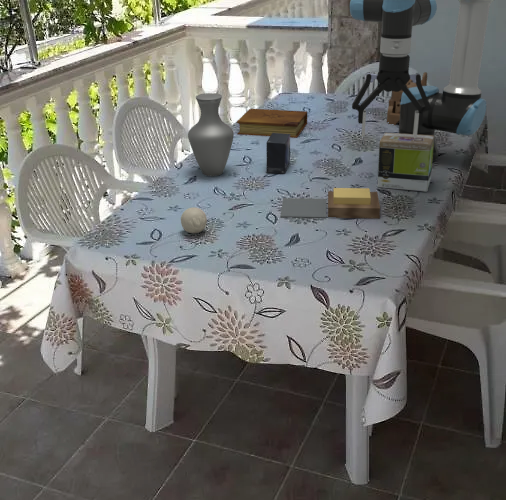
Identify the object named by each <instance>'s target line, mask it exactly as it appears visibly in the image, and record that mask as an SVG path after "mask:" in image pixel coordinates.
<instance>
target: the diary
mask: <svg viewBox="0 0 506 500" xmlns="http://www.w3.org/2000/svg"><path fill="white" fill-rule="evenodd" d="M236 124H239V125H238V126H239V127H238V128H239V131H238V132H237V135H241V136H255V137H258V136H260V137H270V136H271V134H272V133H283V134H290V139H291V138H293V139H297V138H298V137H299V136H300V135H301V133H302V132H303V131H304V130H305V128H306V127H307V125H308V111H307V110H306V111H304V110H285V109H283V110H282V109H265V108H263V109H262V108H249V109H248V110H247V111H246V112H244V114H242V116H240V118H239V119H237V120H236Z"/></svg>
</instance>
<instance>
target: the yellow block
mask: <svg viewBox="0 0 506 500" xmlns="http://www.w3.org/2000/svg"><path fill="white" fill-rule="evenodd" d="M333 191H334V193H333V198H334V204H359V205H370V202H371V196H370V192H371V190H370V188H365V187H363V188H362V187H361V188H360V187H358V188H357V187H356V188H355V187H350V188H349V187H333Z"/></svg>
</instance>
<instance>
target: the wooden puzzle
mask: <svg viewBox="0 0 506 500" xmlns="http://www.w3.org/2000/svg"><path fill="white" fill-rule="evenodd" d="M427 83H428V72H425V71H424V72H423V74H422V76H421V85H422V86H428V84H427ZM406 86H407V87H408V89H409V88H412V87H417V85H416V83H413V81H412V80H411V79H410V80H409V81H408V83H407V84H406ZM402 93H403V91H402V90H401V91H399V92H394V91H391V97H390V99H389V100H388V107H387V111H386V112H387V113H386V114H387V115H386V123H387V122H389V123H388V125H389V124H394V125H393V126H396V125H398V124H399V120H400V103H401V97H402ZM397 123H398V124H397Z"/></svg>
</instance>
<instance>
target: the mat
mask: <svg viewBox="0 0 506 500" xmlns="http://www.w3.org/2000/svg"><path fill="white" fill-rule="evenodd" d="M288 217H307V218H306V219H327V198H299V197H298V198H291V197H290V198H286V197H285V198H284V197H282V203H281V210H280V218H283V219H285V218H288Z"/></svg>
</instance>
